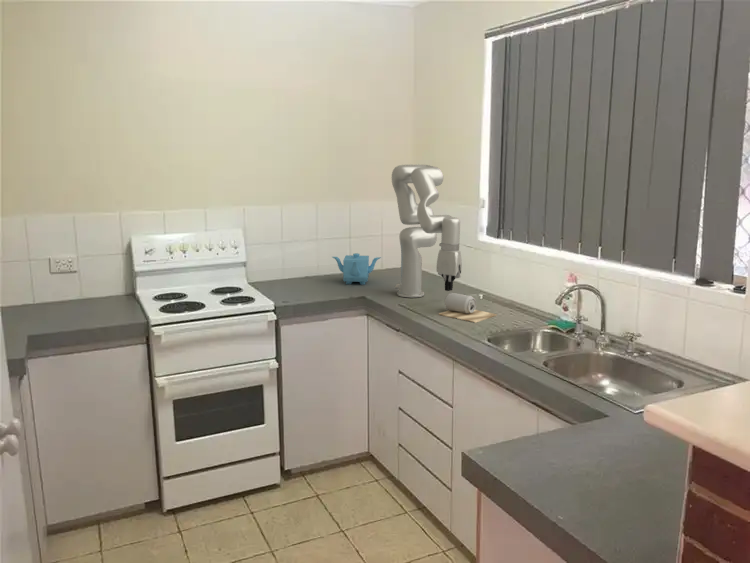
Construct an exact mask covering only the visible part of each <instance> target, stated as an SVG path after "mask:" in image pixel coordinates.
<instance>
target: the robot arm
mask: <svg viewBox="0 0 750 563" xmlns="http://www.w3.org/2000/svg"><path fill="white" fill-rule="evenodd" d="M443 182H444V173H443V171H442V170H441V169H440V168H439V167H438V166H433V165H430V164H401V165H397V166H395V167H393V170H392V172H391V183H392V187H393V191H394V193H395V195H396V196H395V197H396V201H397V202H396V203H397V209H398V214H399V215H398V216H399V219H400V223H402V224H403V225H407V226H410V225H411V226H410V227H405V228H403V229H402V230H401V231H400V233H399V244H400V283H396V284H395V286H394V288H395V289H398V291H397V293H396V295H397V296H398V297H401V298H408V299H409V298H412V299H413V298H415V299H416V298H421V297H424V296H425V292H424V291H423V290H422V276H423V275H422V274H423V273H422V269H423V268H422V264H423V263H422V262H423V257H422V255H421V252H420V250H418V249H421V248H429V247H430V248H431V247H433V246H435V245H436V242H437V238H438V237H437V236H438V235H437V234H441V239H440V240H441V241H440V243H439V247H440V249H439V251H438V254H437V259H436V272H437V275H438V276H439V277H440V276H441V277H442V279H443V281H444V291H446V292H450V291H453V288H454V281H455V280H456V279H460V278H461V277H462V276H461V275H462V268H463V267H462V254H461V251H460V238H461V237H460V236H461V220H460V218H459V217H454V216H452V215H449V214H434V210H433V208H432V207H431V206H430V205H432V204H434V203H435V202H436V201H437V200H438V199H439V197H440V193H439V192H440V191H438V189H437V187H440V186H441V185H442V184H443ZM409 184H413V186H414V188H415V190H416V194H417V195H418V198H419V200H420V201H419V203H418V202H417V198H416V194H415V191H414V190H413V189H412V187H411V186H410V185H409ZM412 225H413V226H412ZM414 225H420V226H414Z"/></svg>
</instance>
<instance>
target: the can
mask: <svg viewBox="0 0 750 563" xmlns="http://www.w3.org/2000/svg"><path fill="white" fill-rule="evenodd" d="M444 307H445V309H447V310H446V311H449V310H451V311H456V312H461V313H466V314H469V313H473V312H474V310H476V308H477V301H476V298H474V297H473V296H472V295H468V294H462V293H455V292H449V293H447V295H446V296H445V298H444Z"/></svg>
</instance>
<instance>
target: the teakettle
mask: <svg viewBox="0 0 750 563" xmlns="http://www.w3.org/2000/svg"><path fill="white" fill-rule="evenodd" d="M332 258H333V259H334V260H335V261H336V263H337V266H338V269H339V270H340V272H341V273H343V274H342V275H343V277H342V278H343V282H345V285H352V283H353V282H358V283H359V285H361V286H362V285H364V286H365V285H366V284H367V283H368V281H369V274H371V273H372V272H373V271H374V269H375V266H376V263H377V261H378V260H380V259H382V257H377V256H376V257H374V258H373V259H372V262H371V264H370V255H360V253H358V252H357V253H353V254H352V255H350V254H349V255H348V254H346V255H345V256H344V258H343V262H341V259H340V258H339V257H338V256H332ZM342 263H343V264H342Z"/></svg>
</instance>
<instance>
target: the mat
mask: <svg viewBox="0 0 750 563" xmlns="http://www.w3.org/2000/svg"><path fill="white" fill-rule="evenodd" d="M438 316H443V317H447V318H452V319H455V318H457V320H460V319H461V320H460V321H464V320H465V322H469V321H470V322H469V323H473V322H474V324H475V323H476V324H477V323H478V322H483V321H485V320H487V319H491V318H494V317H497V316H498V314H497V313H493V312H488V311H483V310H478V309H475V310H474V312H473V313H469V314H466V313H461V312H456V311H451V310H446V311H442V312H439V313H438Z"/></svg>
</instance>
